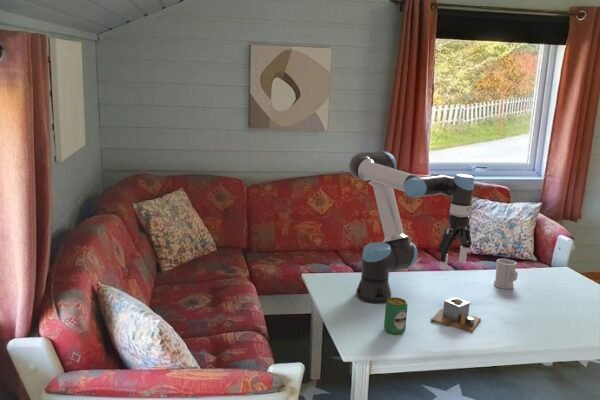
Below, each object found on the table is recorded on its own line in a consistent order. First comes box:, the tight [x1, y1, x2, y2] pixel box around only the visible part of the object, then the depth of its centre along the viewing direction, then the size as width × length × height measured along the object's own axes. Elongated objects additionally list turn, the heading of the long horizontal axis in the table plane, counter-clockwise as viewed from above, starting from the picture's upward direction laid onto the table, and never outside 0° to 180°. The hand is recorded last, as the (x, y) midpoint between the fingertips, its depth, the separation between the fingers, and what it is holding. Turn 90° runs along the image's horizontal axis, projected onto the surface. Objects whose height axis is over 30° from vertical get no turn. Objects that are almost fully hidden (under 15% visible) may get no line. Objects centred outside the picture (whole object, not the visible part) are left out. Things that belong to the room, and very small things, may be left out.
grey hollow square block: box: [442, 296, 474, 326], centre depth 216 cm, size 11×7×7 cm, turn 39°
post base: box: [430, 298, 482, 333], centre depth 217 cm, size 16×13×9 cm
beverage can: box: [383, 297, 408, 336], centre depth 206 cm, size 8×8×12 cm
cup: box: [493, 258, 519, 290], centre depth 257 cm, size 10×9×12 cm
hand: (452, 265), depth 218 cm, fingers open, 13 cm apart
